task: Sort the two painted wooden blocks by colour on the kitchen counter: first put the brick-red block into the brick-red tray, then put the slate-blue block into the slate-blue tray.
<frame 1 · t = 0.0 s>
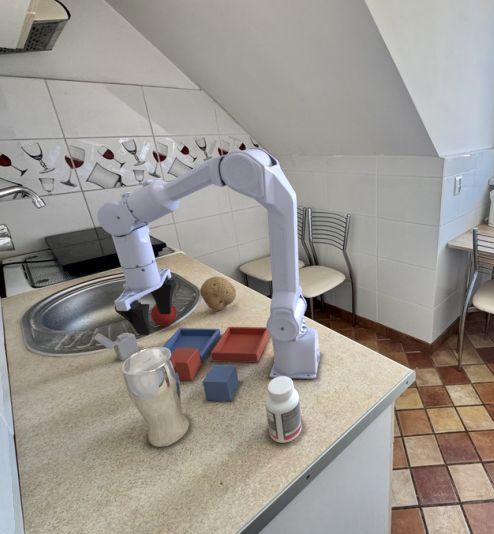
hand: (155, 323, 67), 10 cm above the counter, tool pointing down, fingers open, 7 cm apart
red tray: (242, 347, 75), on the counter
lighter: (122, 358, 72), on the counter
red block: (186, 372, 68), on the counter
onion: (167, 326, 84), on the counter
beer glass: (169, 432, 54), on the counter
blue tray: (191, 348, 75), on the counter
potato: (221, 309, 92), on the counter
pill bottle: (285, 430, 54), on the counter
blue block: (223, 391, 62), on the counter
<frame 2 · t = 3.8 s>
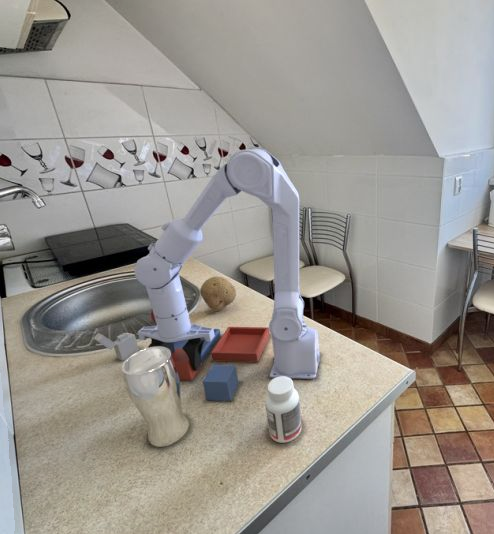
hand: (185, 367, 67), 1 cm above the counter, tool pointing down, fingers closed on red block, 4 cm apart
red block: (186, 372, 68), on the counter, touching gripper
everything else where it was.
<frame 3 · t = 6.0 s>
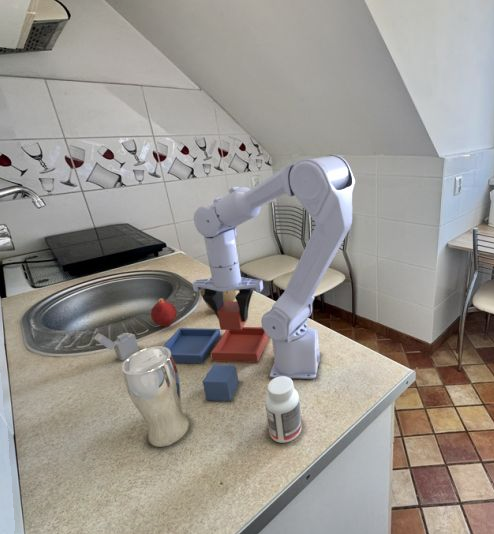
hand: (233, 319, 72), 8 cm above the counter, tool pointing down, fingers closed on red block, 4 cm apart
red block: (234, 324, 72), point 7 cm above the counter, touching gripper
everything else where it was.
when the fingers open (2 cm above the counter, at t = 8.1 s): red block stays where it is, resting on red tray.
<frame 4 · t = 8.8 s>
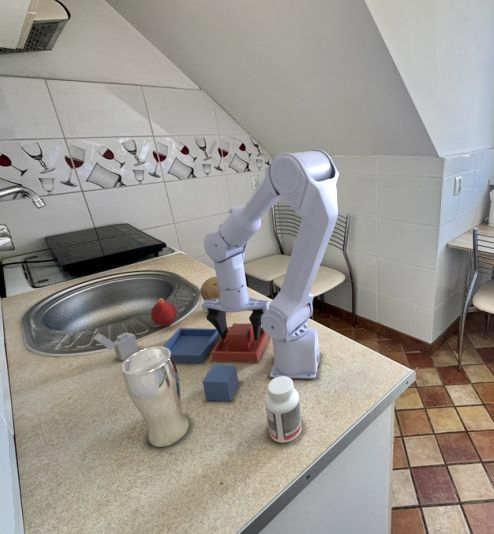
hand: (241, 337, 74), 3 cm above the counter, tool pointing down, fingers open, 7 cm apart
red block: (242, 345, 75), resting on red tray
everything else where it was.
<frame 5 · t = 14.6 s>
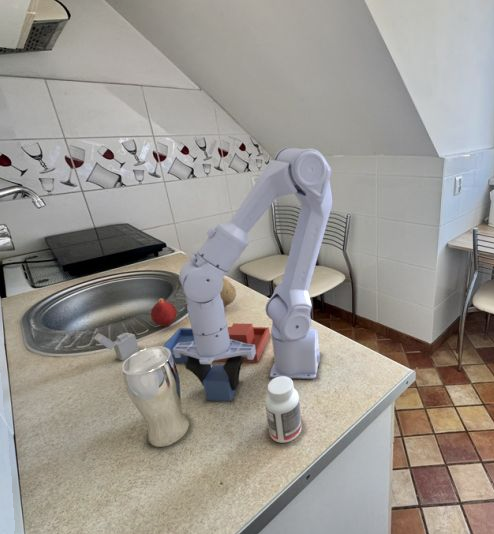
hand: (222, 386, 62), 1 cm above the counter, tool pointing down, fingers closed on blue block, 4 cm apart
blue block: (223, 391, 62), on the counter, touching gripper
everything else where it was.
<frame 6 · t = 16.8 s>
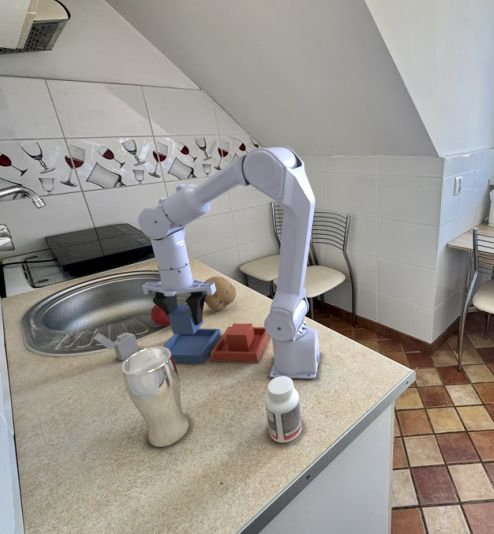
hand: (187, 322, 70), 8 cm above the counter, tool pointing down, fingers closed on blue block, 4 cm apart
blue block: (188, 328, 70), point 7 cm above the counter, touching gripper
everything else where it was.
when the fingers open (2 cm above the counter, at t = 19.2 s): blue block stays where it is, resting on blue tray.
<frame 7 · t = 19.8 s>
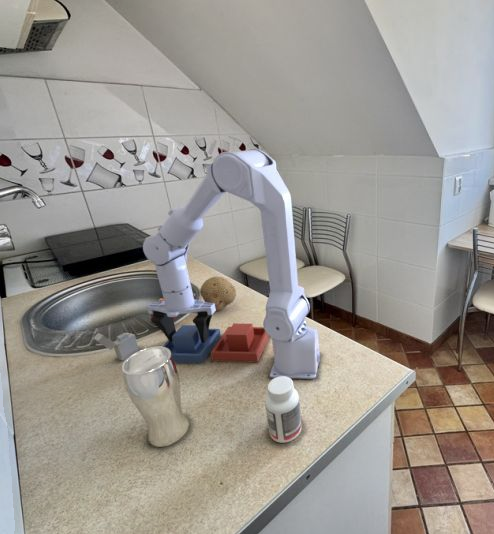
hand: (189, 339, 74), 3 cm above the counter, tool pointing down, fingers open, 7 cm apart
blue block: (190, 347, 75), resting on blue tray
everything else where it was.
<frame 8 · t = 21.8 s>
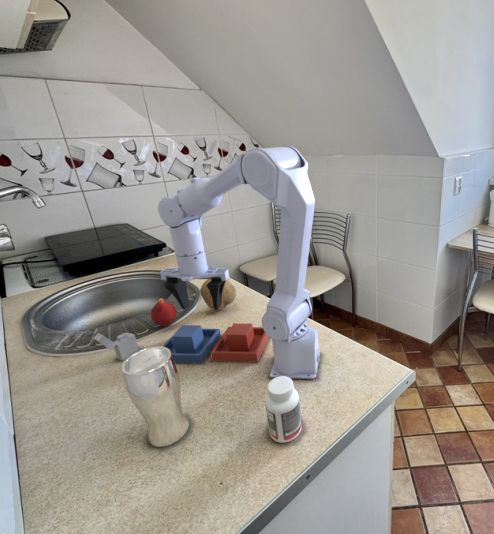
hand: (201, 307, 74), 9 cm above the counter, tool pointing down, fingers open, 7 cm apart
nothing on the counter moved.
at the end: red block inside the target area in the red tray (0.1 cm from its centre), point 0.4 cm above the red tray's base; blue block inside the target area in the blue tray (0.1 cm from its centre), point 0.4 cm above the blue tray's base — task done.
